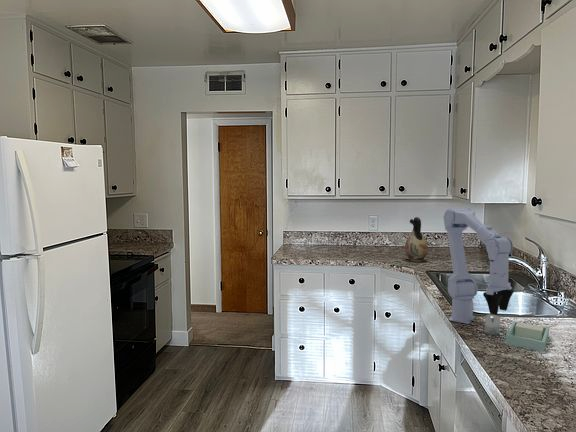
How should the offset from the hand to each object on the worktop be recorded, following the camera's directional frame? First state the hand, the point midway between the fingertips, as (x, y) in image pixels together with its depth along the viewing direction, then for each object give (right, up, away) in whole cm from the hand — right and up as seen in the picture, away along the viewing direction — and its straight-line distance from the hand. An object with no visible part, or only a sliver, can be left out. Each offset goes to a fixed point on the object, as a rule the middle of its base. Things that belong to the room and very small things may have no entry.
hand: (498, 312), depth 143 cm
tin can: (0, -10, +5) cm, 11 cm away
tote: (+9, -10, -2) cm, 14 cm away
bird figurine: (+15, +2, +139) cm, 140 cm away
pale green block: (+11, -9, +2) cm, 14 cm away
